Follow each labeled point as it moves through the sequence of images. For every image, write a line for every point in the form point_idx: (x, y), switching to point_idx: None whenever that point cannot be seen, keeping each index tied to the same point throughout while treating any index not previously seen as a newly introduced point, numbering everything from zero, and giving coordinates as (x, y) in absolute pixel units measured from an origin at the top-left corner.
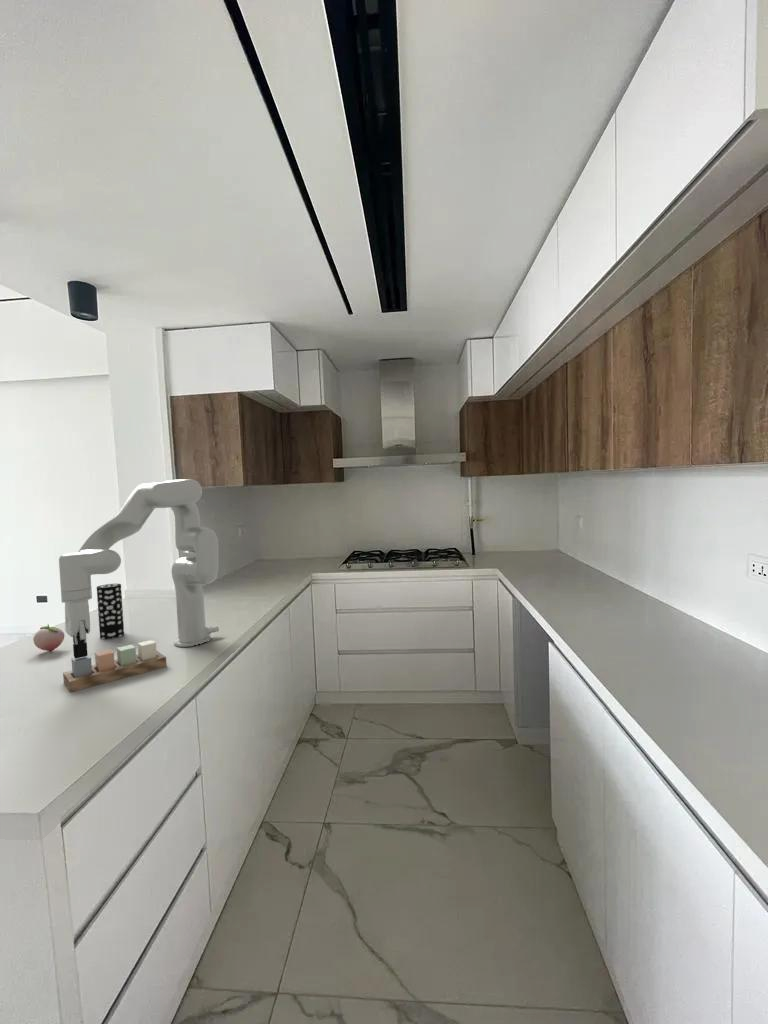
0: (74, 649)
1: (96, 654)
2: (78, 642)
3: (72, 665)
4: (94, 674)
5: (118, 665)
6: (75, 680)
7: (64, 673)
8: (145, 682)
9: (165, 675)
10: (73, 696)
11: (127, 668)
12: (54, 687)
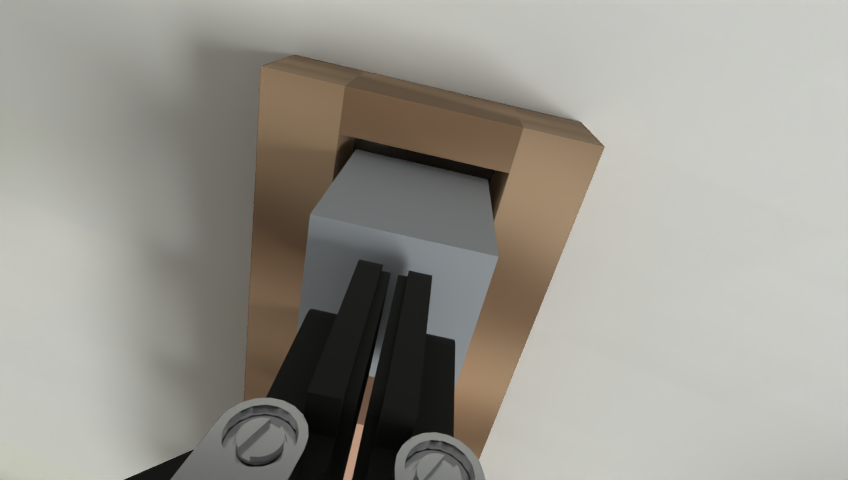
0: (329, 336)
1: (362, 425)
2: (156, 470)
3: (458, 212)
4: (276, 262)
5: None
6: (260, 116)
7: (562, 143)
8: (89, 373)
9: (121, 457)
10: (177, 30)
11: None
12: (542, 26)
